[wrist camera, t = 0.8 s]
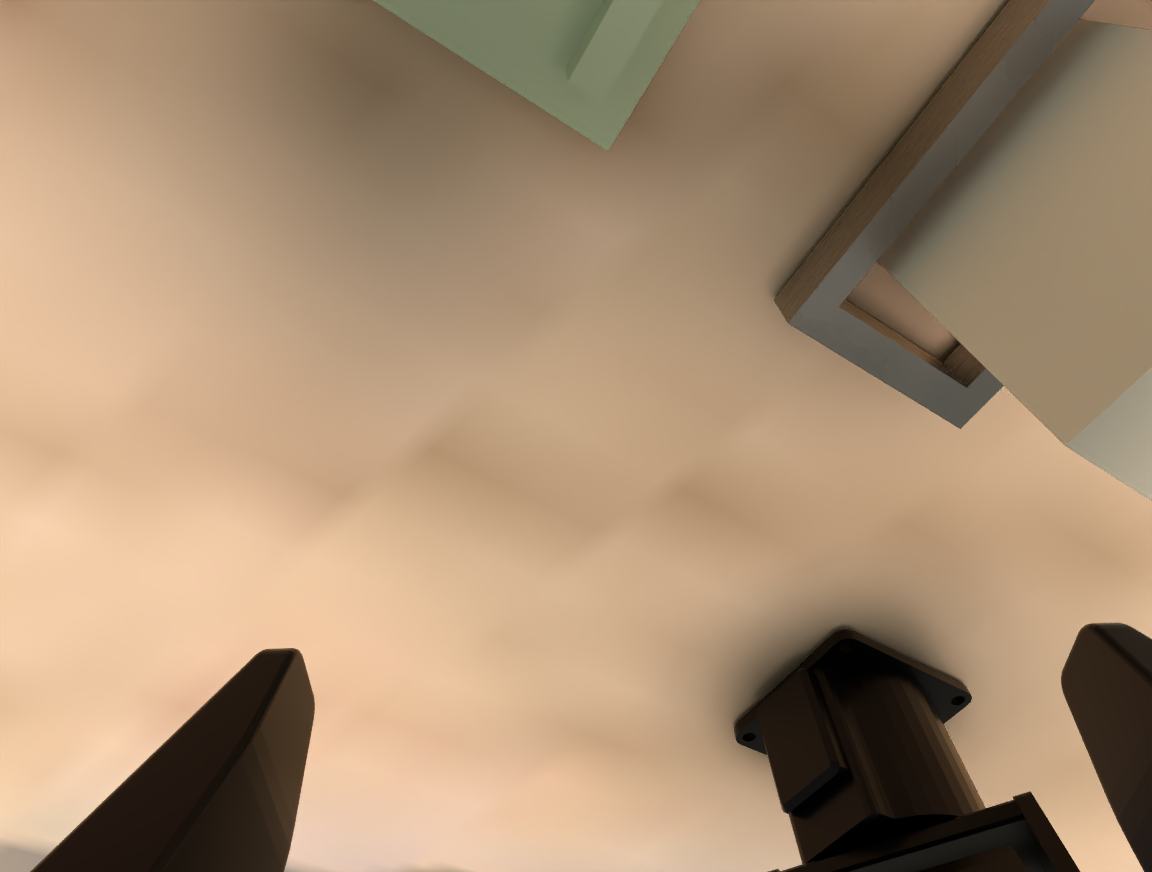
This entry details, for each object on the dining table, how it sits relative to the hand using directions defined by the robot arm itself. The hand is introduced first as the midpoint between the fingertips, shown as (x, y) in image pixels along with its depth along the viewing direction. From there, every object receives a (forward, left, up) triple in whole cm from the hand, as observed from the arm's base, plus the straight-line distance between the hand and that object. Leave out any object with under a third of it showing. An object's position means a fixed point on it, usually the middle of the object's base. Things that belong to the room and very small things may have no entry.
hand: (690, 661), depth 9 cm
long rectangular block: (-7, -7, -13) cm, 17 cm away
